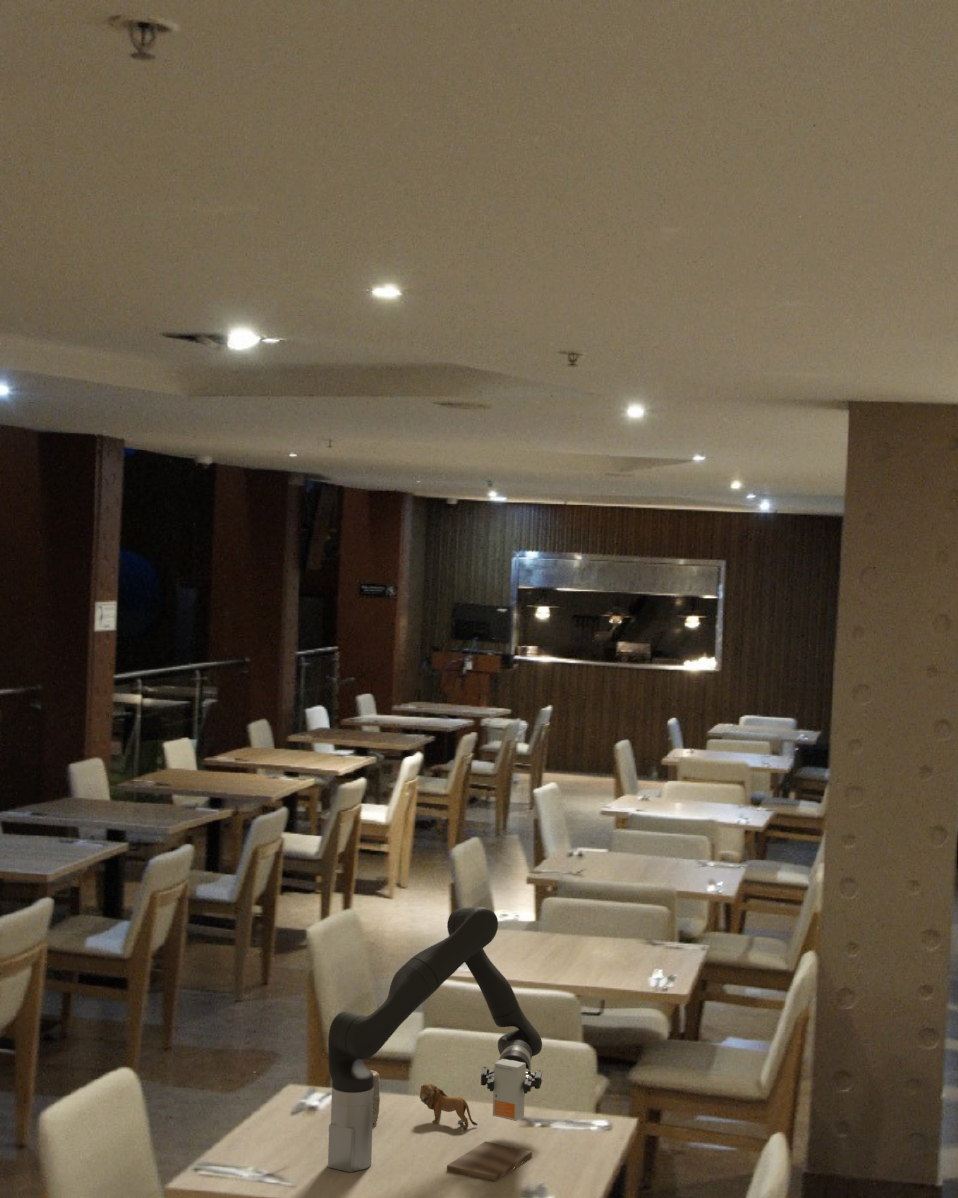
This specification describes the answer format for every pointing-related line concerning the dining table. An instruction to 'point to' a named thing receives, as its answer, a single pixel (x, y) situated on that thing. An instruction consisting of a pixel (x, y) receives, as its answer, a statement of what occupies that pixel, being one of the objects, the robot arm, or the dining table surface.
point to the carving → (376, 1096)
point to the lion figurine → (444, 1103)
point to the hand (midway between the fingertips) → (508, 1088)
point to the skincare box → (509, 1089)
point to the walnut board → (489, 1161)
